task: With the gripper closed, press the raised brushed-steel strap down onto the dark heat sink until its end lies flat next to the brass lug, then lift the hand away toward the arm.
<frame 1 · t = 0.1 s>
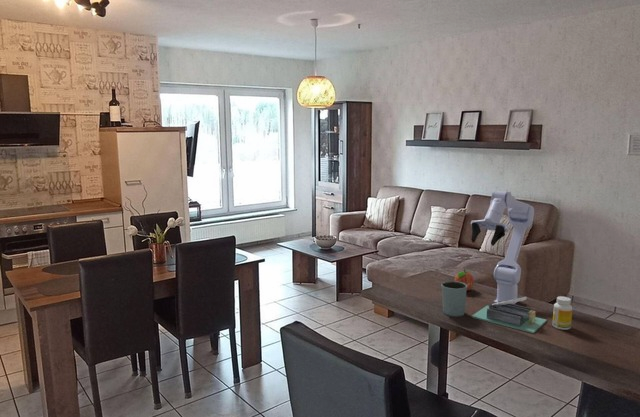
hand: (482, 242, 184), 32 cm above the table, tool tilted 50°, fingers open, 7 cm apart
heat sink: (511, 312, 191), on the circuit board, point 3 cm above the table
supplement bottle: (561, 327, 184), on the table
circuit board: (508, 319, 192), on the table
fruit: (464, 290, 227), on the table
green cup: (453, 313, 200), on the table
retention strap: (508, 302, 191), point 7 cm above the table, hinge at 25.0°
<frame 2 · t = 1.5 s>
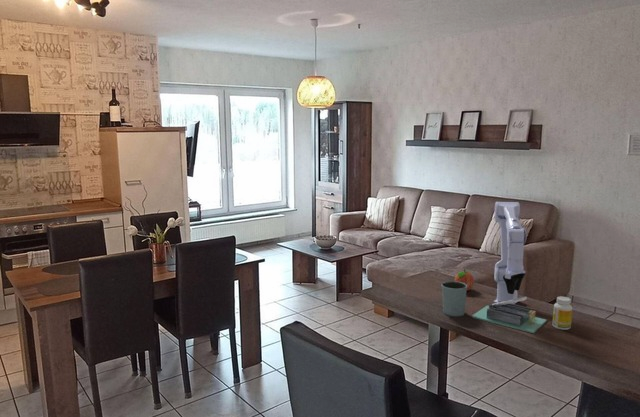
hand: (513, 291, 193), 10 cm above the table, tool pointing down, fingers open, 5 cm apart
nothing on the table moved.
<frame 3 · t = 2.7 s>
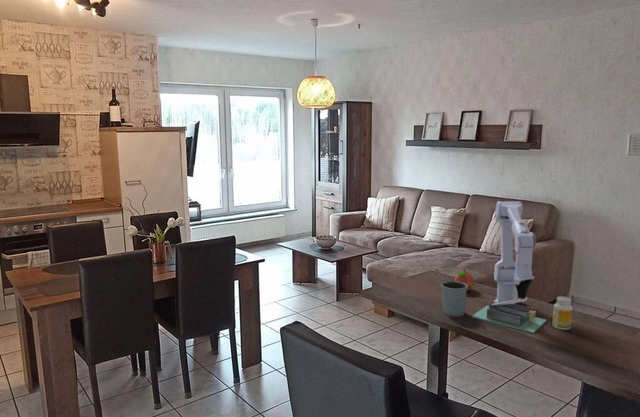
hand: (521, 298, 187), 10 cm above the table, tool pointing down, fingers closed, pressing on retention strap
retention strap: (508, 302, 191), point 7 cm above the table, hinge at 23.7°, touching gripper
everything else where it was.
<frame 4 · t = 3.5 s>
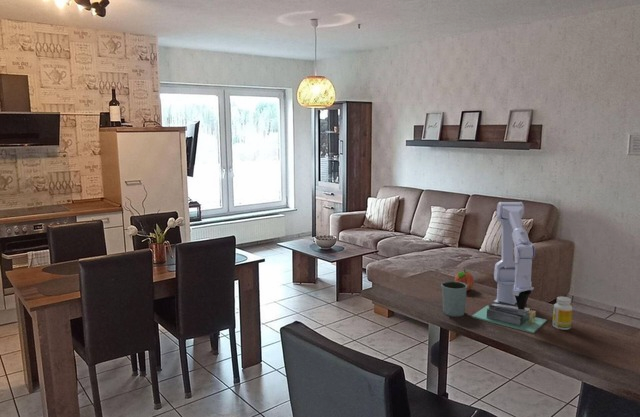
hand: (521, 308, 188), 6 cm above the table, tool pointing down, fingers closed, pressing on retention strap
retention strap: (509, 307, 191), point 5 cm above the table, hinge at 5.1°, touching gripper
everything else where it was.
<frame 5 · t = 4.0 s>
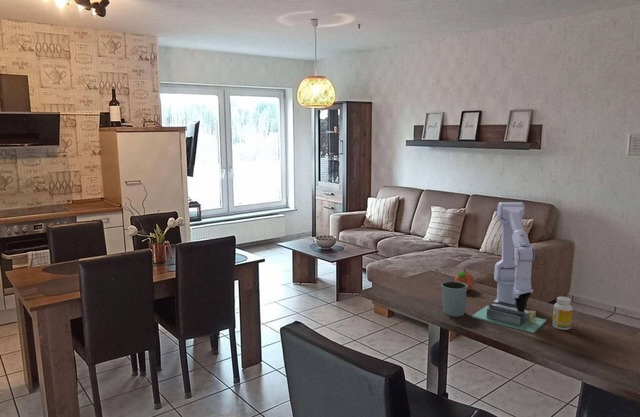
hand: (520, 310, 188), 5 cm above the table, tool pointing down, fingers closed, pressing on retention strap
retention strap: (509, 309, 191), point 4 cm above the table, hinge at 0.7°, touching gripper
everything else where it was.
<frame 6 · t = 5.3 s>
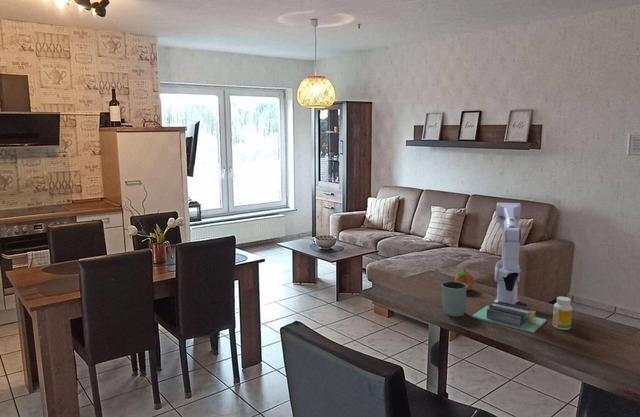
hand: (509, 290, 194), 10 cm above the table, tool pointing down, fingers closed
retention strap: (509, 309, 191), point 4 cm above the table, hinge at 0.7°
everything else where it was.
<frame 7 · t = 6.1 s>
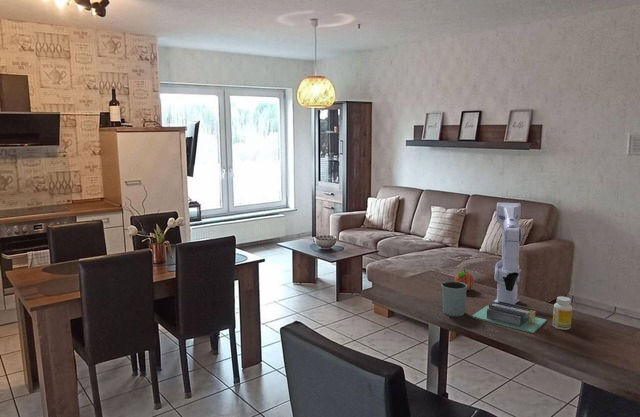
hand: (509, 290, 194), 10 cm above the table, tool pointing down, fingers closed
nothing on the table moved.
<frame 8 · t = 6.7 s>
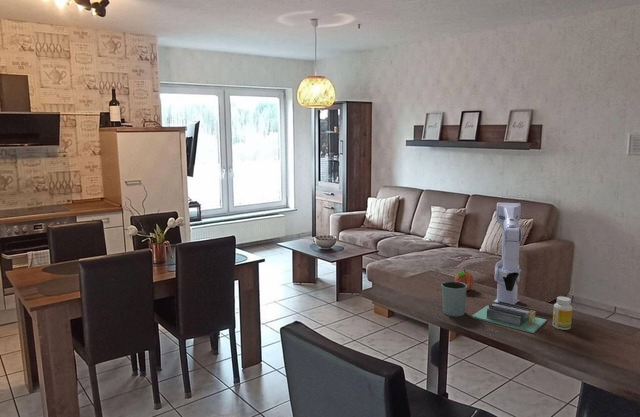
hand: (509, 290, 194), 10 cm above the table, tool pointing down, fingers closed
nothing on the table moved.
at the end: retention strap at +1° (first picture: +25°); the gripper is holding nothing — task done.
